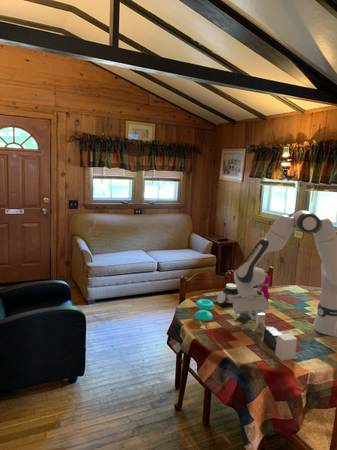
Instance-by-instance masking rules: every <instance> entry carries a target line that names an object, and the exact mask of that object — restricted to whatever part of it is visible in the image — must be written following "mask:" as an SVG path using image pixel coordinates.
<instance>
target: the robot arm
mask: <svg viewBox="0 0 337 450" xmlns="http://www.w3.org/2000/svg"><path fill="white" fill-rule="evenodd" d="M295 231H300V232H303V233H306V234H312V235H313V238H314V243H315V246H316V249H317V252H318V256H319V258H320V260H321V264H320V271H321V273H320V277H321V278H320V285H321V286H320V289H321V290H320V295H319V296H320V297H319V302H318V304H317V312H316V316H315V320H314V321H313V324H312V328H313V329H314V331H316V332H318V333H320V334H323V335H326V336H331V337H334V338H337V231H336V229H335V226H334V224H333V222H332V221H331V220H330V219H329V218H326V217H318V216H317V215H316V214H315V213H312V212H311V211H309V210H305V209H298V210H295V211H294V212H292V213H291V214H289V215H285V214H281V215H279V216H278V217H277V218H276V219H275V220H274V222H273V223H272V225H270V228H269V229H268V231H267V232H266V234H265V235H264V237H263V238H261V239H260V240H259V241H258V242H257V244H255V246H254V247H253V249H252V250H251V251H250V252H249V254H248V256H247V257H246V258H245V260H244V261H243V262H242V263H240V264H239V266H238V267H237V268H236V269H235V270H234V271H233V279H234V284H235V285H236V286H237V289H238V294H239V296H234V297H233V298H232V299H231V300H232V303H233V305H232V307H233V312H234V314H239V315H240V313H248V315H249V316H250V317H251V319H250V320H251V321H256V315H257V313H262V312H267V311H268V310H269V309H270V306H269V301H268V302H267V300H266V298H265V297H264V293H263V292H260V290H257V289H255V288H254V287H256V286H261V284H262V283H264V281H265V279H266V273H267V272H266V271H265V269H263V268H260V267H258V266H257V265H258V263H259V262H260V261H261V259H262V258H263V256H264V255H266V254H268V253H272V252H276V251H280V250H281V249H283V248H284V247H285V245H286V244H287V242H288V240H289V239H290V237H291V235H292V234H293V233H294V232H295ZM251 313H254V314H255V316H253V315H252V314H251Z"/></svg>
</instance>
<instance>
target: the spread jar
mask: <svg viewBox="0 0 337 450" xmlns="http://www.w3.org/2000/svg"><path fill="white" fill-rule="evenodd" d="M234 296H239V294H238V288H237V286H236V284H235V283H226V285H225V288H224V287H223V290H222V292H219V293H218V294H217V296H216V301H217V303H218V304H227V305H231V306H233V303H232V300H231V299H232V298H233V297H234Z"/></svg>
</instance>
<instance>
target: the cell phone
mask: <svg viewBox="0 0 337 450" xmlns="http://www.w3.org/2000/svg"><path fill="white" fill-rule="evenodd" d="M199 329H201V330H205V331H210V330H209V328H208V327H207V326H206V324H205V323H202V324H201V326H200V327H199Z"/></svg>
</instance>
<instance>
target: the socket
mask: <svg viewBox="0 0 337 450" xmlns="http://www.w3.org/2000/svg"><path fill="white" fill-rule="evenodd" d="M297 343H298V338H297V337H296V336H295V335H293V334H292V333H282V334H281V335H277V343H276V351H275V355H276V356H277V357H278V358H279V359H280V360H281V361H280V362H283V361H288V360H289V359H290V360H296V359H295V354H296V351H297ZM282 360H283V361H282Z"/></svg>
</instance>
